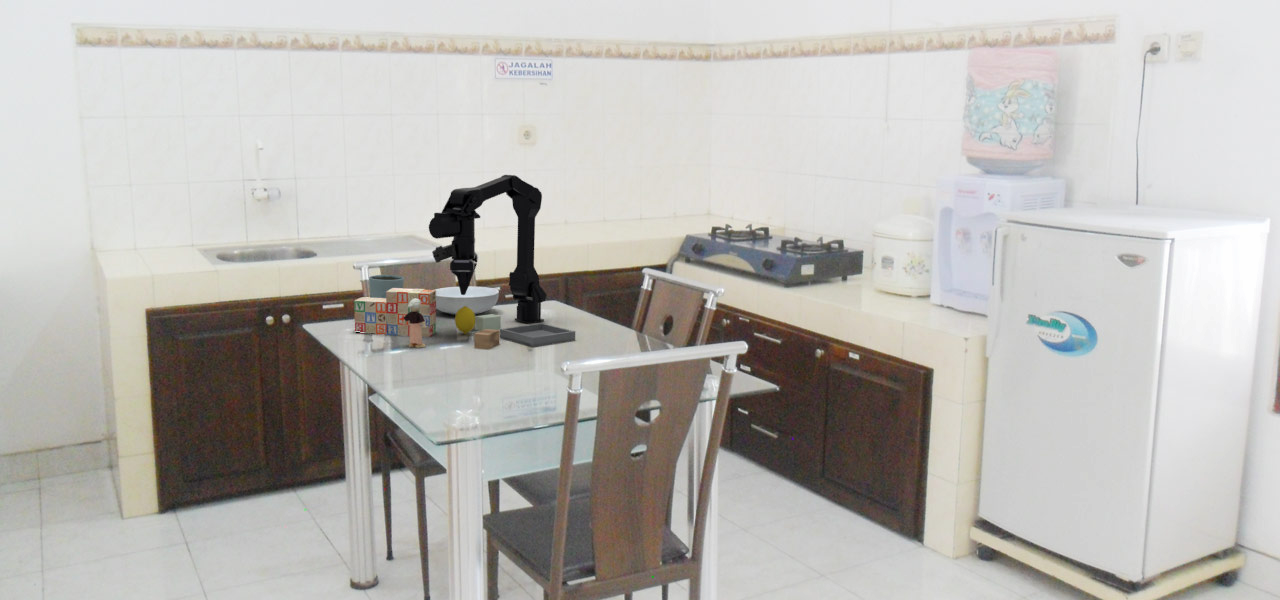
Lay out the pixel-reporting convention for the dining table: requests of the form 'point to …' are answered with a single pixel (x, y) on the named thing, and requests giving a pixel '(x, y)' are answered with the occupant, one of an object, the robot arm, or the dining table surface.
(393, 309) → the stack of blocks
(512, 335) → the charcoal tray
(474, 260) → the robot arm
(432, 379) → the dining table surface
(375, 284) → the blue-grey pot
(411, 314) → the grandmother figurine
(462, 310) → the lemon
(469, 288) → the serving bowl
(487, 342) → the walnut block
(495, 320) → the sage block
